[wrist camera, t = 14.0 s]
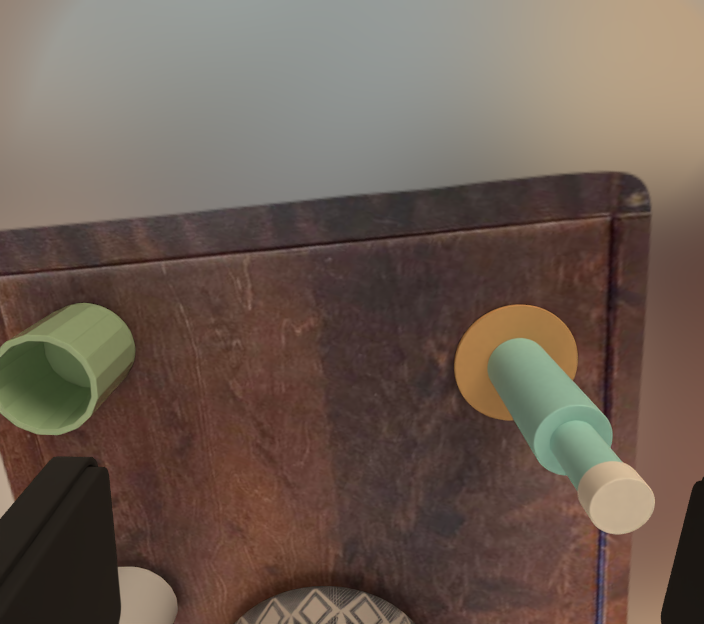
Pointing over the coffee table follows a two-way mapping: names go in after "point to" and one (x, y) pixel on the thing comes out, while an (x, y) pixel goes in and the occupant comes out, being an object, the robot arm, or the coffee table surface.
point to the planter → (324, 608)
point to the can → (145, 597)
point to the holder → (63, 368)
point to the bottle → (569, 435)
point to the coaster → (495, 332)
